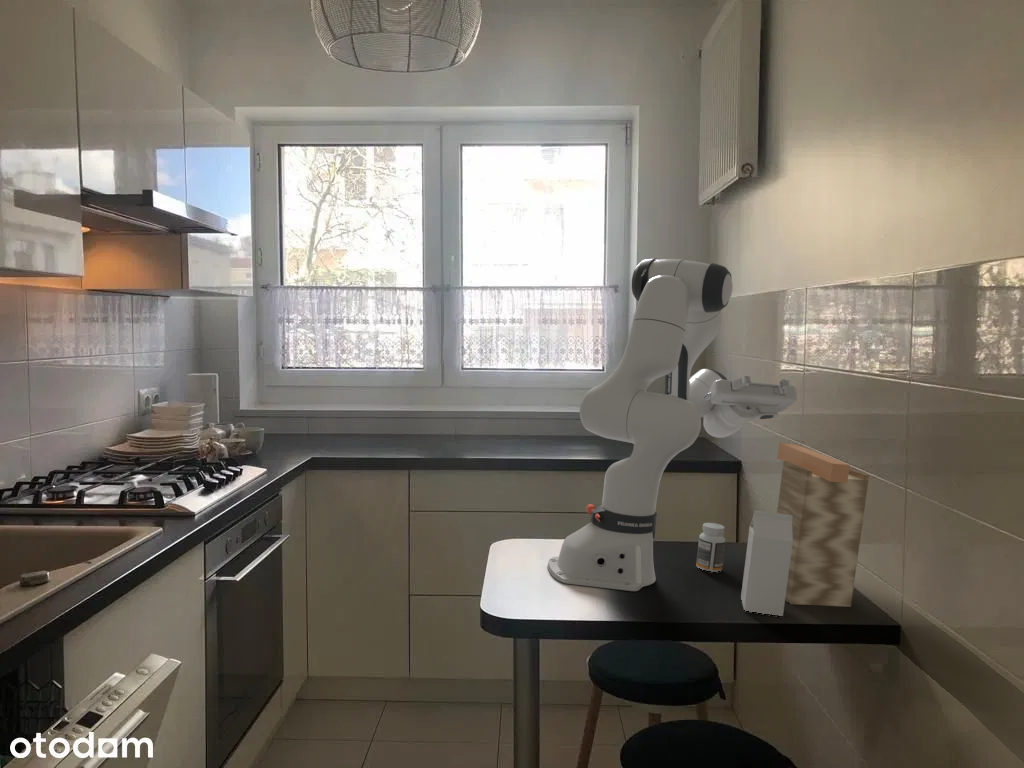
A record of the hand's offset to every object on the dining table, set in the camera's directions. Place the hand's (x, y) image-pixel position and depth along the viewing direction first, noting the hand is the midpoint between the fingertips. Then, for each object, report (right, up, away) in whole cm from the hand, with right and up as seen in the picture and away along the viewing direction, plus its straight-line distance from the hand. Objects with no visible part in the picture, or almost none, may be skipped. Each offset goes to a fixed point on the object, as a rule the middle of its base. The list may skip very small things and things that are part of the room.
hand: (767, 380), depth 176 cm
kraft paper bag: (+3, -45, -17) cm, 48 cm away
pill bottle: (-15, -42, -6) cm, 45 cm away
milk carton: (-10, -45, -27) cm, 53 cm away
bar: (+3, -18, -18) cm, 26 cm away
